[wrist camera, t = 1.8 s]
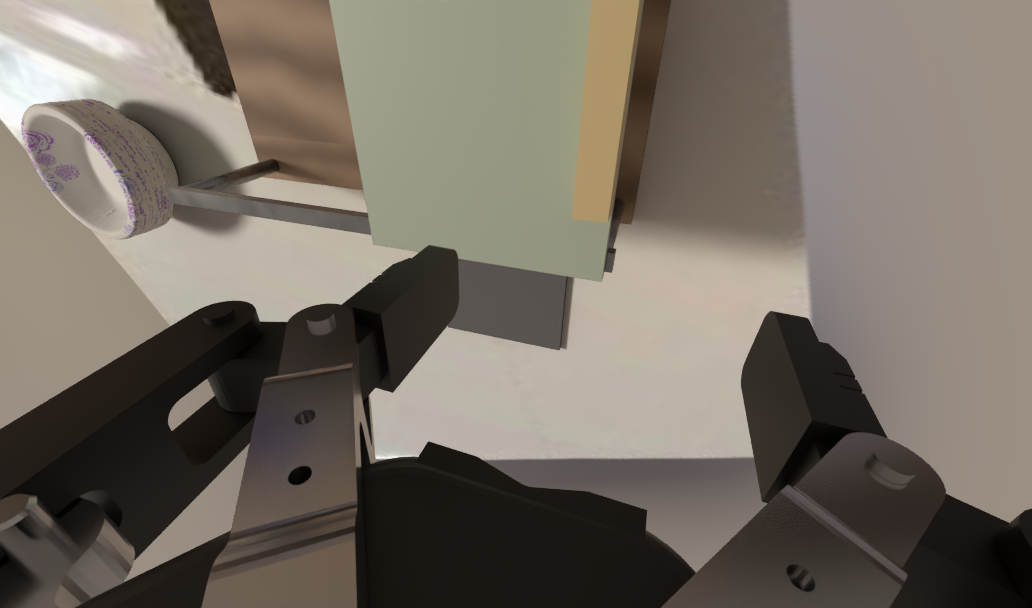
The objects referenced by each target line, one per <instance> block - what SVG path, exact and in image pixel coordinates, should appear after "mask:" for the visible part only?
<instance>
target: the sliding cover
mask: <svg viewBox="0 0 1032 608" xmlns="http://www.w3.org/2000/svg"><path fill="white" fill-rule="evenodd" d="M329 3H330V8H331V14H332V19H333V25H334V30H335V36H336V41H337V47H338V52H339V58H340V63H341V69H342V74H343V80H344V86H345V91H346V97H347V102H348V108H349V113H350V119H351V124H352V130H353V135H354V141H355V146H356V152H357V157H358V163H359V168H360V174H361V179H362V185H363V190H364V196H365V201H366V207H367V212H368V218H369V223H370V229H371V234H372V240H373V245H379V246H385V247H391V248H397V249H403V250H409V251H415V252H420V251H422V250H423V249H424V248H425V247H426V246H428V245H433V246H439V247H444V248H449V249H454V250H455V251H456V252H457V255H458V259H464V260H470V261H476V262H482V263H489V264H495V265H501V266H507V267H513V268H519V269H525V270H531V271H537V272H544V273H550V274H556V275H562V276H568V277H574V278H580V279H586V280H592V281H598V282H602V278H603V275H604V268H605V262H606V255H607V248H608V241H609V234H610V228H611V221H612V214H613V207H614V201H615V194H616V187H617V180H618V174H619V167H620V160H621V153H622V147H623V140H624V133H625V126H626V119H627V113H628V106H629V99H630V92H631V86H632V79H633V72H634V65H635V59H636V52H637V45H638V38H639V31H640V25H641V18H642V11H643V4H644V0H329Z"/></svg>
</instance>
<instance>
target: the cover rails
mask: <svg viewBox="0 0 1032 608" xmlns="http://www.w3.org/2000/svg"><path fill="white" fill-rule="evenodd" d="M279 169H280V167H279V164H278V162H277V161H276V160H274V159H269V160H265V161H262V162H259V163H256V164H252V165H249V166H246V167H243V168H240V169H236V170H233V171H230V172H227V173H223V174H220V175H217V176H214V177H211V178H207V179H204V180H201V181H198V182H194V183H191V184H188V185H185V186H175V185H173V186H170V187H167V188H165V189H166V191H167V193H168V195H169V198H170V200H171V202H172V204H179V205H185V206H191V207H198V208H204V209H210V210H217V211H223V212H229V213H236V214H242V215H248V216H255V217H261V218H267V219H274V220H280V221H286V222H293V223H299V224H306V225H312V226H318V227H325V228H331V229H337V230H344V231H350V232H356V233H363V234H369V235H372V234H371V229H370V223H369V218H368V213H363V212H356V211H349V210H342V209H335V208H328V207H321V206H314V205H307V204H300V203H293V202H286V201H279V200H272V199H265V198H258V197H251V196H245V195H238V194H231V193H224V192H220V191H223V190H226V189H229V188H232V187H235V186H238V185H240V184H243V183H246V182H249V181H252V180H255V179H258V178H261V177H263V176H266V175H269V174H272V173H275V172H278V171H279ZM624 208H625V204H624V202H623V201H622V200H621V199H618V198H615V201H614V207H613V214H612V221H611V228H610V234H609V241H608V248H607V255H606V262H605V268H604V272H610V273H612V270H613V266H614V259H615V253H616V249H614V248H613V246H614V243H615V239H616V236H617V232H618V229H619V225H620V222H621V218H622V215H623V211H624Z"/></svg>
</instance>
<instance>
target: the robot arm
mask: <svg viewBox="0 0 1032 608" xmlns="http://www.w3.org/2000/svg"><path fill="white" fill-rule="evenodd" d="M458 305H459V270H458V255H457V252H456V251H455V250H454V249H449V248H444V247H439V246H433V245H428V246H426V247H425V248H424V249H423V250H422V251H420V252H419V253H418V254H417V255H415V256H414V257H413V258H408V259H406V260H403V261H401V262H398V263H395V264H393V265H392V266H390V267H389V268H388V269H387V270H385V271H384V272H383V273H382V275H379V276H378V277H376V278H375V279H374V280H373V281H372V283H369V284H367V285H366V286H365V287H364V288H362V289H361V290H360V291H359V292H357V293H356V294H355V295H353V296H352V297H351V298H350V299H348V300H347V301H346V302H344V303H343V304H342V305H339V304H320V305H315V306H311V307H308V308H306V309H303V310H301V311H299V312H298V313H296V314H295V315H293V316H292V317H291V318H290V319H289V321H288V322H260V321H259V318H258V315H257V312H256V309H255V307H254V306H253V305H252V304H250V303H247V302H243V301H226V302H220V303H215V304H212V305H209V306H206V307H203V308H201V309H199V310H197V311H195V312H193V313H192V314H190V315H188V316H187V317H185V318H183V319H182V320H180V321H178V322H177V323H175V324H174V325H172V326H170V327H169V328H167V329H165V330H164V331H162V332H160V333H159V334H157V335H155V336H154V337H152V338H151V339H149V340H147V341H146V342H144V343H142V344H140V345H139V346H137V347H135V348H134V349H132V350H131V351H129V352H127V353H126V354H124V355H122V356H121V357H119V358H117V359H116V360H114V361H112V362H111V363H109V364H108V365H106V366H104V367H102V368H101V369H99V370H97V371H96V372H94V373H92V374H91V375H89V376H88V377H86V378H84V379H83V380H81V381H79V382H78V383H76V384H74V385H73V386H71V387H69V388H68V389H66V390H64V391H63V392H61V393H59V394H58V395H56V396H55V397H53V398H51V399H49V400H48V401H46V402H45V403H43V404H41V405H40V406H38V407H36V408H35V409H33V410H31V411H30V412H28V413H26V414H25V415H23V416H21V417H20V418H18V419H16V420H15V421H13V422H12V423H10V424H8V425H6V426H5V427H3V428H2V429H0V608H1032V509H1029V510H1025V511H1024V512H1023V513H1021V514H1020V515H1019V516H1018V517H1016V518H1015V519H1014V520H1013V521H1011V522H1010V523H1008V522H1006V521H1004V520H1001V519H1000V518H997V517H995V516H993V515H990V514H989V513H986V512H984V511H982V510H980V509H977V508H975V507H973V506H971V505H969V504H967V503H964V502H962V501H960V500H958V499H956V498H954V497H952V496H950V495H947V494H946V489H945V486H944V484H943V482H942V480H941V478H940V477H939V475H938V474H937V473H936V472H935V471H934V469H933V468H932V467H931V466H930V465H929V464H928V463H926V462H925V461H924V460H923V459H922V458H921V457H919V456H918V455H917V454H915V453H914V452H912V451H911V450H909V449H908V448H906V447H904V446H902V445H900V444H899V443H897V442H894V441H892V440H890V439H888V438H887V436H886V434H885V432H884V430H883V428H882V427H881V425H880V423H879V421H878V419H877V417H876V415H875V413H874V411H873V410H872V408H871V406H870V404H869V402H868V400H867V398H866V396H865V394H862V389H861V387H860V385H859V383H858V382H857V380H855V375H854V374H853V371H852V370H851V368H850V366H849V364H848V362H847V360H846V359H845V358H844V357H843V356H841V355H840V354H839V353H838V352H837V351H836V350H835V349H834V348H832V346H830V345H829V344H827V343H822V342H819V341H818V338H817V336H816V334H815V332H814V330H813V328H812V325H811V323H810V321H809V320H808V319H807V318H805V317H800V316H794V315H789V314H784V313H779V312H774V311H770V312H769V313H768V314H767V315H766V316H765V318H764V320H763V322H762V325H761V327H760V329H759V331H758V334H757V336H756V338H755V340H754V343H753V345H752V347H751V349H750V352H749V354H748V356H747V358H746V361H745V363H744V366H743V370H742V376H741V388H742V394H743V399H744V405H745V410H746V416H747V421H748V427H749V433H750V438H751V444H752V449H753V455H754V460H755V465H756V471H757V476H758V482H759V488H760V493H761V499H762V502H766V503H768V504H767V505H766V506H765V507H764V508H762V509H761V510H760V511H759V513H757V514H756V515H755V516H754V517H753V518H752V519H751V520H750V521H749V522H748V523H747V524H746V525H745V526H744V527H743V528H742V529H741V530H740V531H739V532H738V533H737V534H736V535H735V536H734V537H733V538H732V539H731V540H730V541H729V542H728V543H727V544H726V545H725V546H723V547H722V549H721V550H719V551H718V552H717V553H716V554H715V555H714V556H713V557H712V558H711V559H710V560H709V561H708V562H707V563H706V564H705V565H704V566H703V567H702V568H701V569H700V570H699V571H698V572H697V573H696V572H695V571H694V570H693V569H692V568H691V567H690V566H689V565H688V564H687V562H686V561H685V560H684V559H682V557H681V556H680V555H678V554H677V553H676V552H675V551H674V550H673V549H672V548H671V547H670V546H668V545H667V544H666V543H664V542H663V541H662V540H660V539H659V538H657V537H656V536H655V535H653V534H651V533H650V532H648V531H646V517H647V510H645V509H641V508H638V507H635V506H632V505H629V504H625V503H622V502H619V501H616V500H613V499H610V498H607V497H603V496H600V495H596V494H594V493H591V492H585V491H573V490H560V489H548V488H534V487H528V486H525V485H523V484H521V483H519V482H517V481H516V480H514V479H512V478H511V477H509V476H508V475H506V474H504V473H503V472H501V471H499V470H498V469H496V468H495V467H493V466H491V465H489V464H488V463H486V462H485V461H483V460H481V459H480V458H478V457H476V456H473V455H470V454H467V453H463V452H460V451H457V450H454V449H451V448H448V447H444V446H441V445H438V444H435V443H432V442H428V443H427V444H426V446H425V447H424V449H423V451H422V452H421V454H420V455H419V457H399V458H392V459H387V460H383V461H379V462H376V459H375V447H374V435H373V423H372V411H371V401H370V396H369V394H370V393H371V392H372V391H373V390H374V389H375V388H379V389H382V390H385V391H389V392H392V393H393V392H394V391H395V389H396V388H397V387H398V386H399V385H400V383H401V382H402V381H403V380H404V378H405V377H406V376H407V375H408V373H409V372H410V371H411V370H412V369H413V367H414V366H415V365H416V364H417V362H418V361H419V360H420V359H421V357H422V356H423V355H424V354H425V352H426V351H427V350H428V349H429V348H430V346H431V345H432V344H433V343H434V341H435V340H436V339H437V338H438V336H439V335H440V334H441V333H442V332H443V330H444V329H445V328H446V327H447V325H448V324H449V323H450V322H451V320H452V319H453V318H454V316H455V314H456V312H457V309H458ZM206 379H208V381H209V383H210V386H211V387H212V389H213V392H214V394H215V396H214V397H213V398H212V399H211V400H209V401H208V402H207V403H206V404H205V405H203V406H202V407H201V408H200V409H198V410H197V411H196V412H195V413H194V414H192V415H191V416H190V417H189V418H188V419H186V420H185V421H184V422H183V423H182V424H180V425H179V426H178V427H177V428H175V429H174V430H173V431H171V429H170V427H169V425H168V416H169V413H170V410H171V409H172V407H173V406H174V405H175V403H176V402H177V401H179V400H180V399H181V398H182V397H183V396H185V395H186V394H187V393H189V392H190V391H191V390H193V389H194V388H195V387H196V386H198V385H199V384H200V383H201V382H203V381H204V380H206ZM249 443H250V445H249V449H248V454H247V459H246V463H245V468H244V473H243V477H242V482H241V487H240V491H239V496H238V501H237V505H236V510H235V515H234V519H233V524H232V529H231V531H229V532H227V533H225V534H223V535H221V536H219V537H216V538H214V539H212V540H210V541H208V542H206V543H204V544H202V545H200V546H198V547H196V548H194V549H192V550H190V551H188V552H186V553H183V554H181V555H180V556H177V557H175V558H173V559H171V560H169V561H167V562H165V563H163V564H161V565H159V566H157V567H155V568H153V569H151V570H149V571H146V572H144V573H142V574H140V575H138V576H136V577H134V578H132V579H130V580H128V581H126V582H124V580H125V579H126V577H127V576H128V574H129V572H130V570H131V568H132V565H133V562H134V560H135V559H136V558H137V557H138V556H139V555H140V554H141V553H142V552H143V551H144V550H145V549H146V548H147V547H148V546H149V545H150V544H151V543H152V542H153V541H154V540H155V539H156V538H157V537H158V536H159V535H160V534H161V533H162V532H163V531H164V530H165V529H166V527H168V526H169V525H170V524H171V523H172V522H173V520H175V519H176V518H177V517H178V516H179V514H181V512H182V511H183V510H184V509H185V508H186V507H187V506H188V505H189V504H190V503H191V502H192V501H193V500H194V499H195V498H196V497H197V496H198V495H199V494H200V493H201V492H202V491H203V490H204V489H205V488H206V487H207V486H208V485H209V484H210V483H211V482H212V481H213V480H214V479H215V478H216V477H217V476H218V475H219V474H220V472H222V471H223V470H224V469H225V468H226V467H227V466H228V465H229V464H230V462H231V461H232V460H233V459H234V458H235V457H236V456H237V455H238V454H239V453H240V452H241V451H242V450H243V449H244V448H245V447H246V446H247V445H248V444H249ZM123 582H124V583H123Z"/></svg>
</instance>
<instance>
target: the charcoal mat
mask: <svg viewBox="0 0 1032 608" xmlns="http://www.w3.org/2000/svg"><path fill="white" fill-rule="evenodd" d="M458 270H459V305H458V309H457V312H456V314H455V316H454V318H453V319H452V320H451V322H450V323H449V324H448V327H450V328H454V329H459V330H464V331H469V332H474V333H478V334H483V335H488V336H493V337H498V338H502V339H507V340H512V341H517V342H522V343H526V344H531V345H536V346H541V347H546V348H551V349H555V350H560V347H561V336H562V326H563V315H564V305H565V294H566V284H567V276H562V275H556V274H550V273H544V272H537V271H531V270H525V269H519V268H513V267H507V266H501V265H495V264H489V263H482V262H476V261H470V260H464V259H458Z"/></svg>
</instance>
